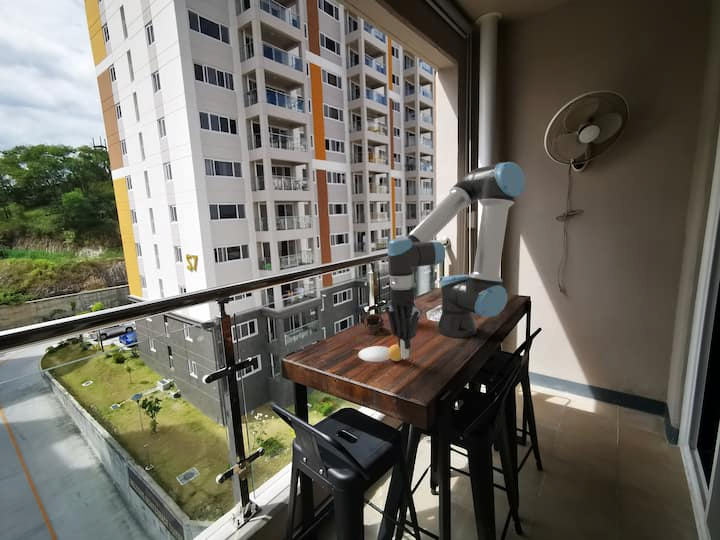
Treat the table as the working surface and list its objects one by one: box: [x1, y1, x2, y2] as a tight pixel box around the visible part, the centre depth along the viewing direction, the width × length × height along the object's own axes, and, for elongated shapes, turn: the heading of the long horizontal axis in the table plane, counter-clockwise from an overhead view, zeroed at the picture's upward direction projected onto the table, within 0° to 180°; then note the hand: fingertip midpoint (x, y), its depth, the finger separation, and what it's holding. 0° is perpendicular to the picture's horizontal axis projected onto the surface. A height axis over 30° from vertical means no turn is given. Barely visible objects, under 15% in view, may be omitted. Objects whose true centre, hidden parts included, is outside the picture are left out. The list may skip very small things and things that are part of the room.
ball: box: [388, 344, 403, 362], centre depth 110 cm, size 6×6×6 cm
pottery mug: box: [360, 313, 385, 335], centre depth 141 cm, size 12×10×8 cm
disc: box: [357, 345, 392, 363], centre depth 117 cm, size 13×13×1 cm
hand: (405, 357), depth 108 cm, fingers closed
